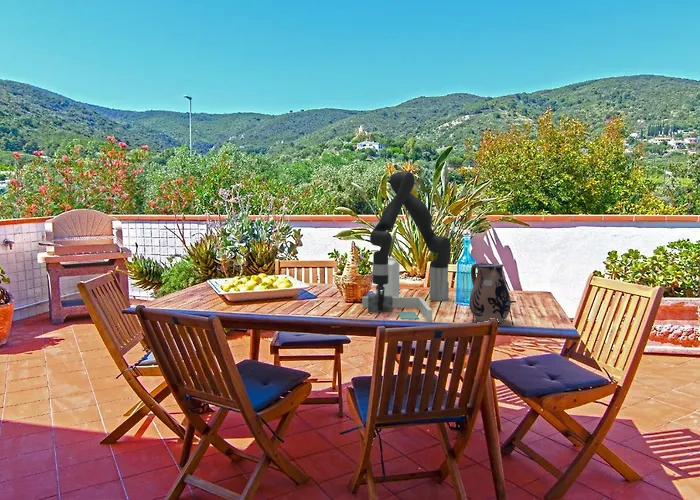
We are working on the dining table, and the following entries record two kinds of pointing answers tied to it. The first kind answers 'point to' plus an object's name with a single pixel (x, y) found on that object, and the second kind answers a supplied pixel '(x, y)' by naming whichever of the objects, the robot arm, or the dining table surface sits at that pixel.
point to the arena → (407, 305)
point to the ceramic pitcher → (489, 293)
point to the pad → (408, 315)
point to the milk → (392, 279)
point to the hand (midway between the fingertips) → (380, 308)
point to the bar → (374, 304)
